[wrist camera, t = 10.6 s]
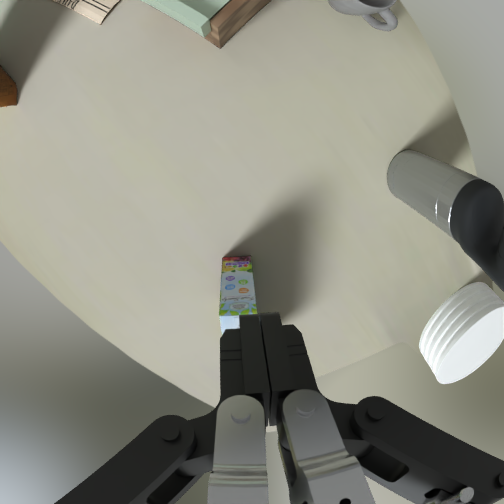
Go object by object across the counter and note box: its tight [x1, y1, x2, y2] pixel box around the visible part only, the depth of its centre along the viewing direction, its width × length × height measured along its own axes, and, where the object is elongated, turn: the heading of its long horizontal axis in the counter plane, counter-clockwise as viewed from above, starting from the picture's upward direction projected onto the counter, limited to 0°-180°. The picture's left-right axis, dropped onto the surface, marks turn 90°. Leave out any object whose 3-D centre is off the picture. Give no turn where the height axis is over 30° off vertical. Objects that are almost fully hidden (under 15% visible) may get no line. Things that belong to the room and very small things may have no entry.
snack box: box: [219, 256, 258, 335], centre depth 48 cm, size 21×6×15 cm, turn 2°
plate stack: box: [419, 282, 504, 384], centre depth 61 cm, size 28×28×12 cm
